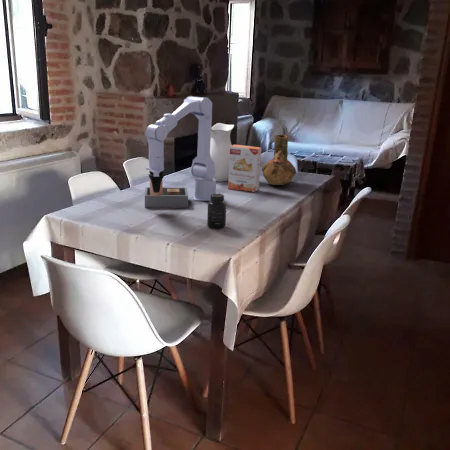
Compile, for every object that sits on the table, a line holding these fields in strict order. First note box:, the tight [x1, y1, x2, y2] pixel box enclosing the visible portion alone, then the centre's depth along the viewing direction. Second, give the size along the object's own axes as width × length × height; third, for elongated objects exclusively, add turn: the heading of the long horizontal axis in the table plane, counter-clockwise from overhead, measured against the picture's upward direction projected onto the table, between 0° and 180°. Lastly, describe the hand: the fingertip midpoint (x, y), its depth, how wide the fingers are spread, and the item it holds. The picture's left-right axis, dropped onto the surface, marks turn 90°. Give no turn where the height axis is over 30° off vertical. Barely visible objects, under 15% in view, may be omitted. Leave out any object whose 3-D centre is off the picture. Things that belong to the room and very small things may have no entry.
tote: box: [144, 186, 189, 209], centre depth 203 cm, size 18×14×5 cm
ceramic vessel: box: [261, 134, 297, 186], centre depth 238 cm, size 17×26×25 cm, turn 171°
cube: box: [167, 189, 179, 195], centre depth 204 cm, size 5×5×5 cm
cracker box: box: [227, 144, 262, 193], centre depth 227 cm, size 14×6×21 cm, turn 68°
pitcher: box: [210, 122, 235, 182], centre depth 242 cm, size 24×17×28 cm
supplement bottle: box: [206, 193, 227, 230], centre depth 176 cm, size 7×7×12 cm
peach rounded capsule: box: [149, 179, 164, 196], centre depth 189 cm, size 5×5×7 cm
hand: (156, 190), depth 190 cm, fingers closed on peach rounded capsule, 5 cm apart
